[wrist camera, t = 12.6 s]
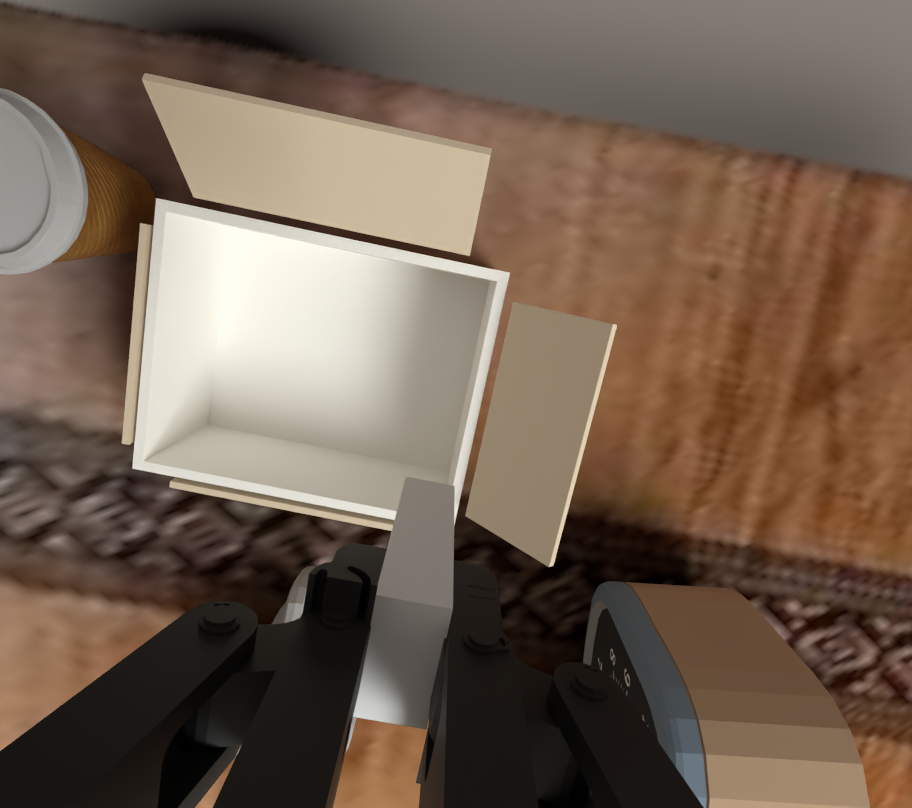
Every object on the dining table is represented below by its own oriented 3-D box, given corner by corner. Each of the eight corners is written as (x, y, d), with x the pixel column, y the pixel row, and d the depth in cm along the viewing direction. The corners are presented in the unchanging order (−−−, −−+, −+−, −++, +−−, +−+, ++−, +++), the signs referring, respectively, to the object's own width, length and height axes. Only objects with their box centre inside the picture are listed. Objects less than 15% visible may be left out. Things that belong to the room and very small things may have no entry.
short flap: (549, 567, 30) (553, 565, 30) (613, 324, 27) (617, 324, 28) (465, 515, 34) (469, 514, 35) (513, 301, 32) (517, 302, 32)
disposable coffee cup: (131, 110, 39) (-11, 38, 28) (206, 236, 41) (104, 218, 29) (21, 179, 40) (-160, 137, 29) (99, 299, 42) (-41, 306, 30)
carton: (192, 435, 44) (119, 477, 35) (217, 215, 41) (142, 195, 31) (453, 487, 45) (450, 542, 35) (499, 274, 41) (510, 272, 32)
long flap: (141, 79, 24) (145, 72, 24) (193, 197, 31) (196, 191, 31) (490, 155, 25) (491, 148, 25) (469, 256, 31) (470, 250, 31)
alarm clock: (590, 547, 46) (697, 775, 25) (708, 555, 46) (917, 789, 25) (564, 762, 50) (637, 1112, 29) (672, 769, 50) (823, 1124, 29)
